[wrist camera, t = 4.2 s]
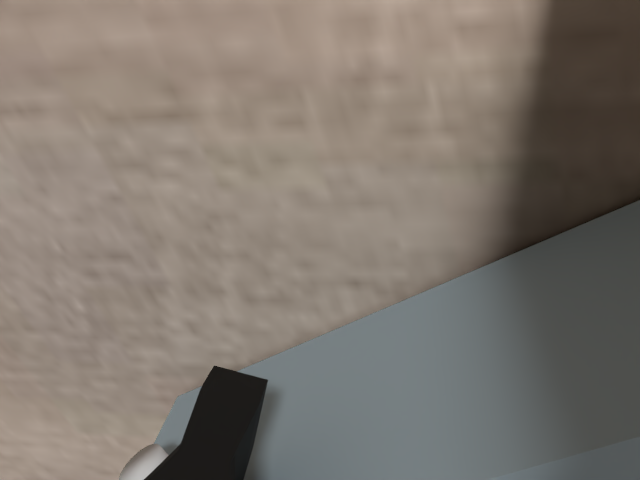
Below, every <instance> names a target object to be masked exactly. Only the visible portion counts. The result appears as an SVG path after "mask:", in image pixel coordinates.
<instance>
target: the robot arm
mask: <svg viewBox="0 0 640 480" xmlns="http://www.w3.org/2000/svg"><path fill="white" fill-rule="evenodd" d="M267 383H268V380H267V379H263V378H259V377H256V376H252V375H248V374H244V373H240V372H236V371H233V370H229V369H225V368H221V367H217V366H214V367H213V369H212V370H211V372H210V374H209V375H208V377H207V379H206V380H205V382H204V384H203V386H202V387H201V389H200V392H199V394H198V397H197V400H196V403H195V405H194V408H193V411H192V414H191V416H190V419H189V422H188V425H187V428H186V430H185V433H184V436H183V439H182V441H181V443H180V445H179V446H178V447H177V448H176V449H175V450H174V451H173V452H172V453H171V454H170V455H169V456H168V457H167V458H166V459H165V460H164V461H163V462H161V463H160V464H159V465H158V466H157V467H156V468H155V469H154V470H153V471H152V472H151V473H150V474H149V475H148V476H147V477H146V478H145V479H144V480H244V477H245V473H246V470H247V466H248V463H249V459H250V456H251V453H252V449H253V446H254V441H255V437H256V432H257V428H258V423H259V419H260V414H261V410H262V405H263V401H264V396H265V392H266V387H267Z"/></svg>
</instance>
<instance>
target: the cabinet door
mask: <svg viewBox="0 0 640 480" xmlns="http://www.w3.org/2000/svg"><path fill="white" fill-rule="evenodd" d="M237 372H240V373H244V374H248V375H252V376H256V377H259V378H263V379H267V380H268V383H267V387H266V392H265V396H264V401H263V405H262V410H261V414H260V419H259V423H258V428H257V432H256V437H255V441H254V446H253V449H252V453H251V456H250V459H249V463H248V466H247V470H246V473H245V477H244V480H640V200H638V201H636V202H634V203H631V204H629V205H627V206H624V207H622V208H620V209H617V210H615V211H613V212H610V213H608V214H606V215H603V216H601V217H599V218H596V219H594V220H591V221H589V222H587V223H584V224H582V225H580V226H577V227H575V228H573V229H570V230H568V231H566V232H563V233H561V234H559V235H556V236H554V237H552V238H549V239H547V240H544V241H542V242H540V243H537V244H535V245H533V246H530V247H528V248H526V249H523V250H521V251H519V252H516V253H514V254H512V255H509V256H507V257H505V258H502V259H500V260H497V261H495V262H493V263H490V264H488V265H486V266H483V267H481V268H479V269H476V270H474V271H472V272H469V273H467V274H465V275H462V276H460V277H457V278H455V279H453V280H450V281H448V282H446V283H443V284H441V285H439V286H436V287H434V288H432V289H429V290H427V291H425V292H422V293H420V294H418V295H415V296H413V297H410V298H408V299H406V300H403V301H401V302H399V303H396V304H394V305H392V306H389V307H387V308H385V309H382V310H380V311H378V312H375V313H373V314H371V315H368V316H366V317H363V318H361V319H359V320H356V321H354V322H352V323H349V324H347V325H345V326H342V327H340V328H338V329H335V330H333V331H331V332H328V333H326V334H323V335H321V336H319V337H316V338H314V339H312V340H309V341H307V342H305V343H302V344H300V345H298V346H295V347H293V348H291V349H288V350H286V351H284V352H281V353H279V354H276V355H274V356H272V357H269V358H267V359H265V360H262V361H260V362H258V363H255V364H253V365H251V366H248V367H246V368H244V369H241V370H239V371H237ZM201 387H202V386H201ZM201 387H199V388H197V389H194V390H192V391H189V392H187V393H185V394H182V395H180V396H178V397H177V399H176V401H175V403H174V405H173V407H172V409H171V411H170V413H169V415H168V417H167V419H166V421H165V423H164V425H163V427H162V429H161V430H160V432H159V434H158V436H157V438H156V440H155V442H154V444H151V445H149V446H147V447H145V448H143V449H142V450H140V451H139V452H138V453H137V454H136V455H134V456H133V457H132V458H131V460H130V461H129V462H128V463H127V464H126V466H125V467H124V469H123V470H122V472H121V474H120V477H119V480H144V479H145V478H146V477H147V476H148V475H149V474H150V473H151V472H152V471H153V470H154V469H155V468H156V467H157V466H158V465H159V464H160V463H161V462H163V461H164V460H165V459H166V458H167V457H168V456H169V455H170V454H171V453H172V452H173V451H174V450H175V449H176V448H177V447H178V446H179V445H180V443H181V441H182V439H183V436H184V433H185V430H186V428H187V425H188V422H189V419H190V416H191V414H192V411H193V408H194V405H195V403H196V400H197V397H198V394H199V392H200V389H201Z"/></svg>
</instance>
